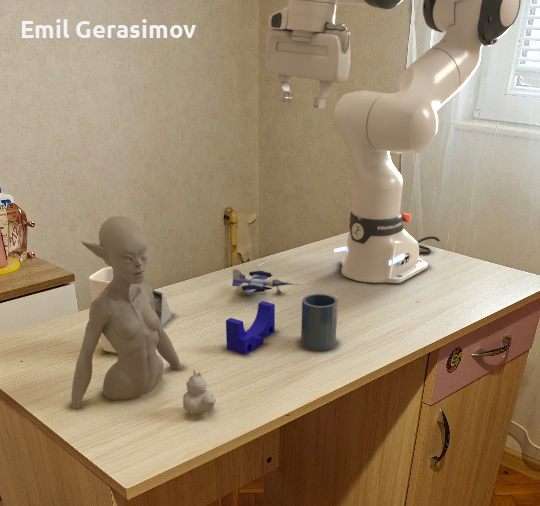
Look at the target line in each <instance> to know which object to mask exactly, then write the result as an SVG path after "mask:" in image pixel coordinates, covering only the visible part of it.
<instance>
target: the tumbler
mask: <svg viewBox="0 0 540 506" xmlns="http://www.w3.org/2000/svg"><path fill="white" fill-rule="evenodd" d="M338 309H339V299H338V298H337V297H335V296H333V295H330V294H325V293H313V294H312V293H311V294H308V295H305V296H303V298H302V299H301V327H300V328H301V329H300V346H302V347H303V348H304V349H306V350H309V351H313V352H326V351H329V350H332V349H334V348H335V347H336V341H337V324H338V311H339V310H338Z"/></svg>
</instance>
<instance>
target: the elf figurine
mask: <svg viewBox="0 0 540 506" xmlns="http://www.w3.org/2000/svg"><path fill="white" fill-rule="evenodd" d="M98 242H99V244H98V243H92V242H91V243H90V242H85V241H82V240H81V241H80V243H82V245H83V246H84V247H86V249H88V250H89V251H91V253H93V254H94V255H95V256H96V257H98V258H100V259H102V260H103V261H104V263H105V265H107V267H112V269H113V280H112V281H111V282H110V283H109V284H108V285H107V286H106V288H105V289H104V290H103V291H102V292H101V293H100V294H99V297H98V298H96V299H95V300H94V301H93V302H92V301H91V303H90V306H89V312H88V321H87V323H86V326H85V331H84V336H83V340H82V344H81V347H80V350H79V353H78V354H79V355H78V358H77V361H76V363H75V369H74V374H73V381H72V387H71V394H70V395H71V398H70V399H71V400H70V401H71V402H70V403H71V408H73V409H79V408H81V406H82V402H83V399H84V396H85V394H86V392H87V391H88V388H89V385H90V384H91V381H92V376H93V358H94V354H95V351H96V349H97V346H98V344H99V342H100V340H101V339H100V336H101V334H102V333H103V334H104V336H105V337H106V338H107V340H108V341H109V343H110V344H111V345H112V347H113V348H114V350H115V351H116V352H117V353H118V354H117V361H115V363H113V364H112V365H111V366H110V367H109V369H108V370H107V371H106V373H105V375H104V378H103V383H102V390H103V395H104V396H105V398H107V399H108V400H112V401H123V400H124V401H125V400H132V399H137V398H140V397H142V396H145V395H147V394H151V392H153V391H154V390H155V389H156V388H157V387H158V386H159V385H160V383H161V381H162V378H163V372H164V361H163V359H164V360H165V362H167V364H169V366H170V367H171V369H172V370H174V371H180V370H181V369H182V367H181V361H180V358H179V356H178V354H177V352H176V350H175V347H174V345H173V343H172V341H171V339H170V337H169V335H168V333H167V332H166V331H165V329H164V328H163V326H161V325H160V322H159V318H158V316H157V314H156V312H155V308H154V296H153V292H152V290H153V289H152V288H151V286H150V285H148V284H145V283H144V284H143V282H144V280H145V279H144V278H145V271H146V266H147V264H148V242H147V239H146V236H145V234H144V232H143V231H142V229H141V227H140V226H139V225H138V224H137V223H136V221H134V220H132V219H131V218H129V217H126V216H123V215H115V216H111V217H109V218H107V219H106V220H105V221H104V222H103V223H102V224H101V225H100V228H99V230H98ZM157 352H158V353H157ZM158 354H159V355H158ZM160 356H161V357H160Z"/></svg>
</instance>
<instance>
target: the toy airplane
mask: <svg viewBox="0 0 540 506" xmlns="http://www.w3.org/2000/svg"><path fill="white" fill-rule="evenodd" d="M248 275H249V276H250V277H251V278H246V274H243V273H242V271H240V269H232V284H231V286H232V287H239V286H241V285H242V284H244V283H245V285H242V286H241V289H242V290H243V291H242V294H243V295H244V296H247V295H248V294H253V293H264V292H265V291H267V290H272V289H273V288H274V287H276V294H277V295H281V294H282V291H281V290H280V288H279V287H281V286H289V285H290V286H291V285H292V286H293V285H294V286H295V285H296V286H300V284H298V283H288V282H285V281H284V279H283V280H282V279H281V278H272V277H273V276H274V274H272V273H271V272H268V271H264V270H254V271H253V270H252V271H250V272H249V273H248Z"/></svg>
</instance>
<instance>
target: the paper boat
mask: <svg viewBox="0 0 540 506" xmlns="http://www.w3.org/2000/svg"><path fill="white" fill-rule="evenodd" d="M151 290H152V292H153V296H154V308H155V312H156V314H157V316H158V318H159V322H160V325H161V327H163V326H164V325H165V324H166V322H168V321H169V320H170V319H171V318H172V317H173V316H172V313H171V309H170V307H169V303H168V300H167V296H166V293H164V292H160V291H157V290H153V289H151Z"/></svg>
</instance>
